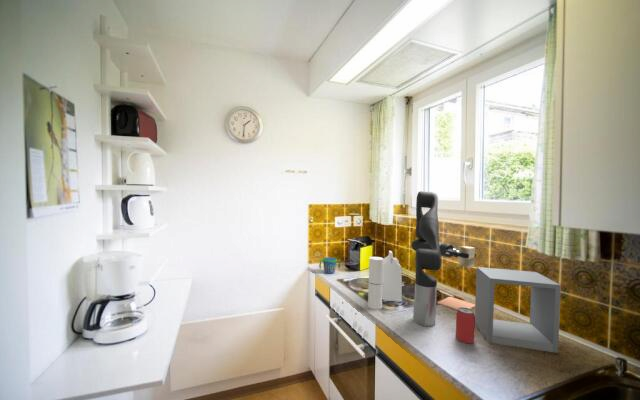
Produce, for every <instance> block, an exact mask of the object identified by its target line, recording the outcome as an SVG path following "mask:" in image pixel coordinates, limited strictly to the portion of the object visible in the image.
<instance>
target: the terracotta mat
mask: <svg viewBox="0 0 640 400" xmlns="http://www.w3.org/2000/svg"><path fill="white" fill-rule="evenodd" d="M436 304H438V305H441V306H442V307H443V306H444V307H446V308H447V307H448V308H449V309H453V310H455V311H458V308H460V307H464V308H468V309H471V310H473V308H474V309H475V303H471V302H468V301H465V300H462V299H459V298H455V297H452V296H448V297H446V298H443V299H442V300H439V301H436Z"/></svg>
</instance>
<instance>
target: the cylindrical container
mask: <svg viewBox="0 0 640 400" xmlns="http://www.w3.org/2000/svg"><path fill="white" fill-rule="evenodd" d="M368 262H369V265H368V289H367V290H368V296H367V307H368V308H369V309H373V310H380V309H382V308H383V301H382V295H383V262H384V258H383V257H381V256H369V261H368Z"/></svg>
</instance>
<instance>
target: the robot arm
mask: <svg viewBox="0 0 640 400" xmlns="http://www.w3.org/2000/svg"><path fill="white" fill-rule="evenodd" d="M438 197H439V196H438V194H437V192H434V191H420V190H419V191H418V192H417V194H416V204H415V206H416V207H415V210H416V214H415V215H416V216H415V217H416V220H415V221H416V225H415V232H414V235H415V237H416V238H417V239H415V240H413V241H412V242H411V245H410V246H411V249H412V250H413V251H414V252H415V258H414V259H415V262H414V263H415V277H414V278H415V279H414V300H413V314H412V316H413V317H412V322H414V323H416V324H419V325H421V326H423V327H432V326H434V325H436V322H437V321H436V318H437V317H436V316H437V313H436V312H437V292H438V291H437V289H438V288H437V286H438V285H437V284H438V282H437V281H438V280H437V279H436V277H434V276H432V275H430V274H427V273H426V272H425V271H424V270H427V271H428V270H429V271H440V269H441V268H442V257H444V258H448V259H450V258H452V257H454V258H459V257H464V258H469V254H466V253H461V252H460V248H457V247H455V246H454V245H453V244H450V243H445V242H440V233H439V231H440V229H439V228H440V227H439V218H438V217H439V216H438V206H439V198H438ZM422 208H424V209H425V208H426V209H429V210H427V212H425V213H423V209H422ZM476 255H477V254H476V253H475V258H476Z"/></svg>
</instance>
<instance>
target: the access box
mask: <svg viewBox="0 0 640 400" xmlns="http://www.w3.org/2000/svg"><path fill="white" fill-rule="evenodd" d="M475 276H476V277H475V278H476V279H475V280H476V281H475V297H474V298H475V299H474V301H475V303H474V304H475V307H474V315H475V325H476V327H477V328H478V330H479V331H480V333H481V334H482V335H483V337H484V339H485V340H486V342H487V343H491V344H498V345H505V346H511V347H515V348H516V347H517V348H524V349H531V350H536V351H543V352H549V353H555V354H556V353H557V354H558V353H559V340H560V339H559V338H560V337H559V335H560V313H561V291H562V290H561V288H562V285H561V284H560V283H557V282H556V281H554V280H552V279H550V278H548V277H547V276H545V275H543V274H541V273H539V272H537V271H530V270H529V271H528V270H517V269H506V268H493V267H492V268H491V267H482V266H476V275H475ZM495 284H504V285H514V286H523V287H531V288H530V310H529V323H524V322H517V321H508V320H502V319H495V318H494V309H495V307H494V306H495V304H494V303H495Z"/></svg>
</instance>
